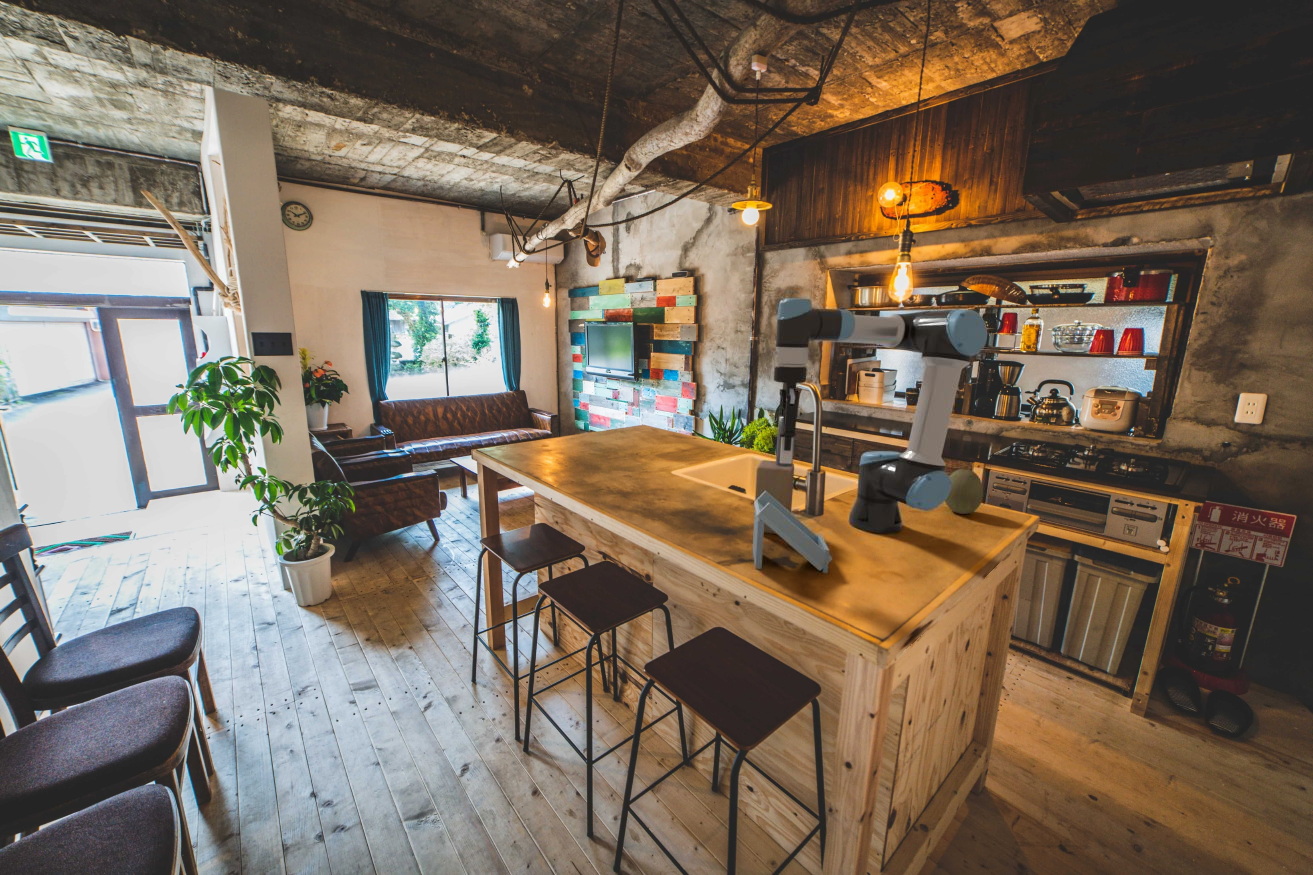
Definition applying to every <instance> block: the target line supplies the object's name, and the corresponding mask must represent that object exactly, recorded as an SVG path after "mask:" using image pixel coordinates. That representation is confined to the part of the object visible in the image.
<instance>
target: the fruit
mask: <svg viewBox="0 0 1313 875" xmlns="http://www.w3.org/2000/svg"><path fill="white" fill-rule="evenodd" d="M948 476H949V477H950V481H951V490H950V493H949V495H948V497H947V499H946V500H945V501H944V502H945V504H946V506H947V508H948V509H950V510H951V511H952V512H954V513H956V514H960V515H968V514H972V513H974V512H975V511H976V510H978V508H979V507H980V506H981V503H982V502H983V497H984V490H983V484H982V481H981V479H980V477H979V475H977V473H976V472H975V471H974V470H971V469H967V468H961V469H960V468H959V469H957V470H954V471H953V472H952V473H951V474H950V475H948Z"/></svg>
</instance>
